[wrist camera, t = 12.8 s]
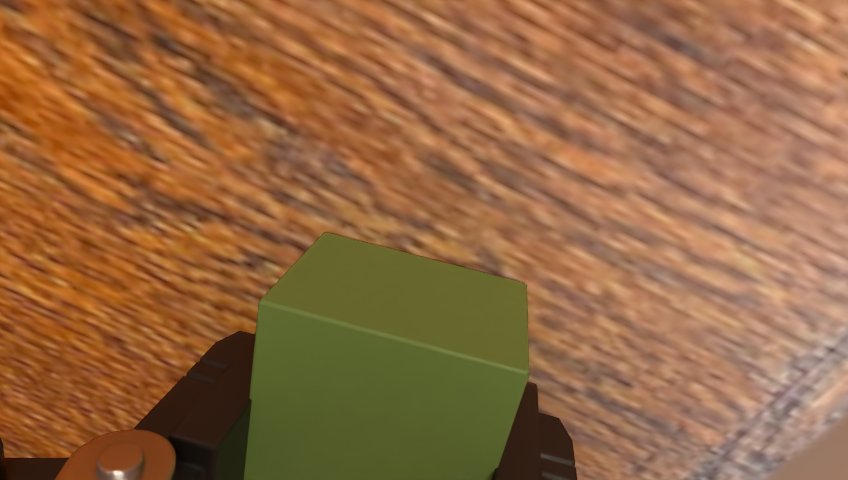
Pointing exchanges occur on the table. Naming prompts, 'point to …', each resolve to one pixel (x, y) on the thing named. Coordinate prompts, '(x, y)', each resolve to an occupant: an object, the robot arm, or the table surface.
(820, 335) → the table surface
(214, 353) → the robot arm
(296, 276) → the block
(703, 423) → the table surface
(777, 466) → the table surface
